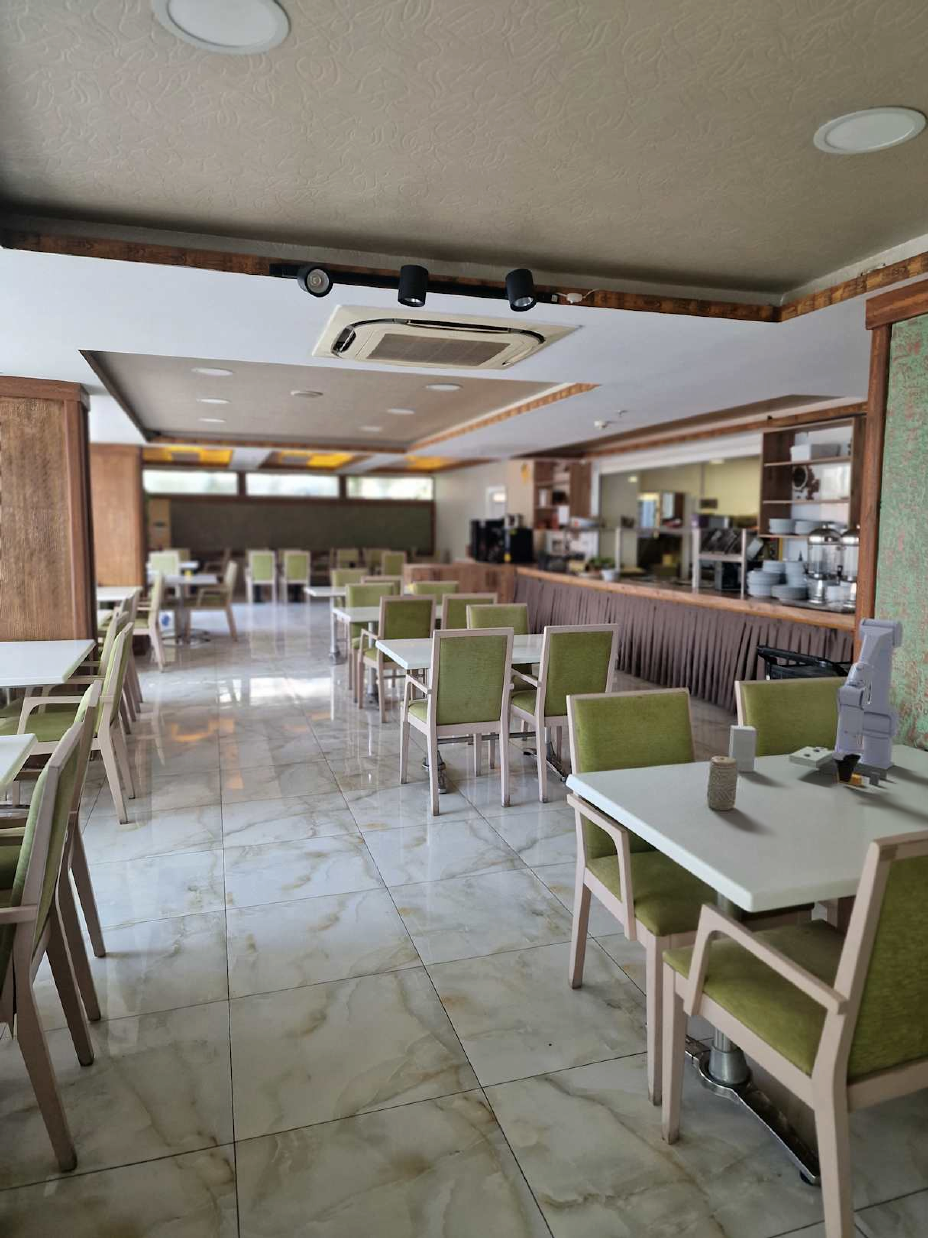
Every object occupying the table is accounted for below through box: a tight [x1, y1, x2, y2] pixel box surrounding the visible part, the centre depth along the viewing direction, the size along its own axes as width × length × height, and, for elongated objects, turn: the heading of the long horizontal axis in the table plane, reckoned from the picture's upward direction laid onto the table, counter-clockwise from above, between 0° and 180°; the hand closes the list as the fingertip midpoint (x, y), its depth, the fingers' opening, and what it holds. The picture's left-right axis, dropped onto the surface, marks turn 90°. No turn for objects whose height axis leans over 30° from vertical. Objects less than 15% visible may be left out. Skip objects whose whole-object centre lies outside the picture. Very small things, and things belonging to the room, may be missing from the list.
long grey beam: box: [818, 757, 888, 786], centre depth 212 cm, size 8×15×3 cm, turn 46°
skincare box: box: [728, 725, 757, 773], centre depth 213 cm, size 6×4×12 cm
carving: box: [706, 755, 739, 811], centre depth 182 cm, size 6×8×12 cm
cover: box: [788, 746, 834, 769], centre depth 213 cm, size 7×15×6 cm, turn 136°
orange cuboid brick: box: [836, 773, 863, 787], centre depth 205 cm, size 2×5×2 cm, turn 42°
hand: (844, 781), depth 203 cm, fingers closed
